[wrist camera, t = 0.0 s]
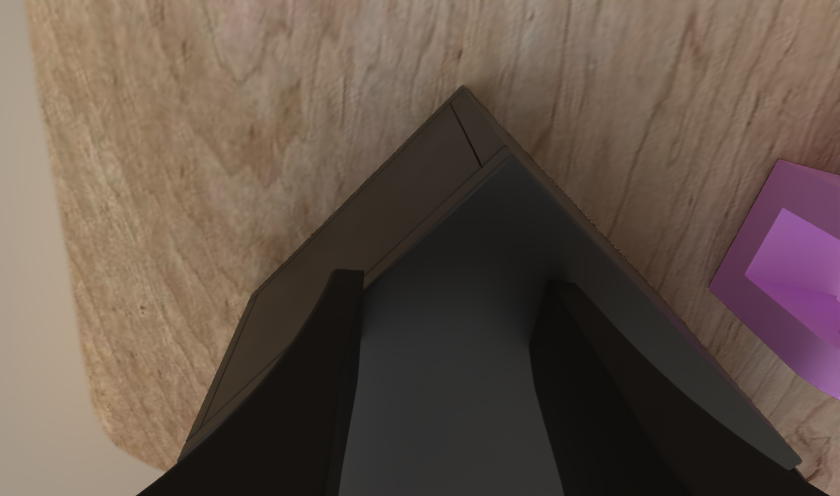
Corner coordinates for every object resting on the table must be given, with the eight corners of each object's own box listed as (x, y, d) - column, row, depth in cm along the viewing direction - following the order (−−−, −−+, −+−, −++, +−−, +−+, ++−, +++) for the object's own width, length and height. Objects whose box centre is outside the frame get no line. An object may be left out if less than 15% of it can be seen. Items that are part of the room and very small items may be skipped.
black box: (666, 303, 23) (804, 462, 15) (463, 454, 26) (494, 649, 18) (462, 84, 19) (512, 152, 11) (250, 296, 22) (174, 464, 14)
